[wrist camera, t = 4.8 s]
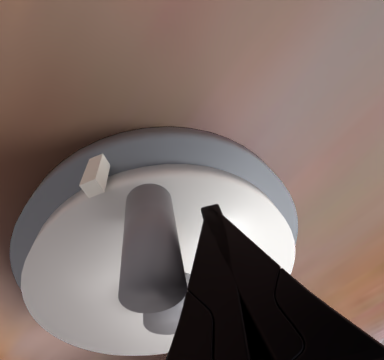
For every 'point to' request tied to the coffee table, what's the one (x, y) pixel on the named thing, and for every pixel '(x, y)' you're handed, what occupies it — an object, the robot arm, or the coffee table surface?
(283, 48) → the coffee table surface
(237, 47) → the coffee table surface
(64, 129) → the coffee table surface
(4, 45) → the coffee table surface
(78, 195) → the dial
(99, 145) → the base plate
